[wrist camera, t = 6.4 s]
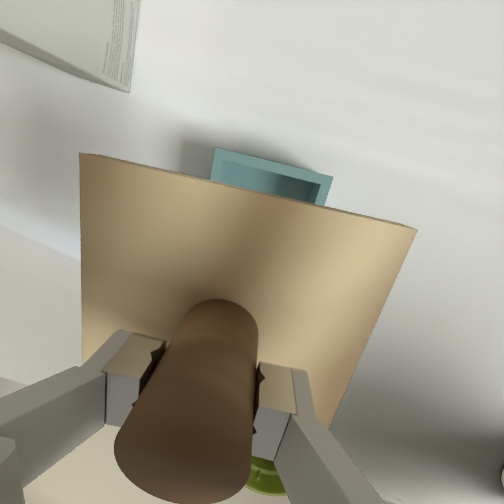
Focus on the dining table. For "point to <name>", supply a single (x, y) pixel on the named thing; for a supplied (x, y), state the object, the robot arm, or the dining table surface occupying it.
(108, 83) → the skincare box
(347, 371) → the lid
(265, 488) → the plant pot
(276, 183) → the teal open box
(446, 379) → the dining table surface
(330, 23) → the dining table surface
